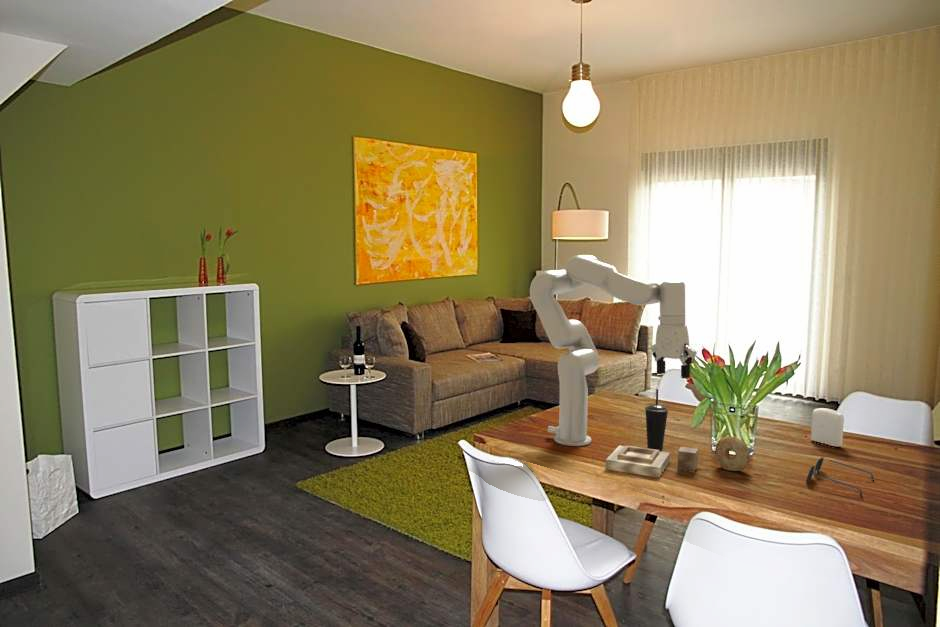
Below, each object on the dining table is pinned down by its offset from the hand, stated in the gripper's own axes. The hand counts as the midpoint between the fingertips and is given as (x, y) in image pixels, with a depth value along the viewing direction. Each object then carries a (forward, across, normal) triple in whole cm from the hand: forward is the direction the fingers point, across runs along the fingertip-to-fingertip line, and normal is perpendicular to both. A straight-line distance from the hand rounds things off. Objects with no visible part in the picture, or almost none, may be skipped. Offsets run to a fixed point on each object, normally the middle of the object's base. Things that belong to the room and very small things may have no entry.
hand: (673, 375), depth 214 cm
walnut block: (+28, +6, -1) cm, 28 cm away
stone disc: (+28, +14, +9) cm, 33 cm away
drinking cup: (+27, -13, +6) cm, 30 cm away
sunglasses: (+30, +37, +27) cm, 55 cm away
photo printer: (+29, +14, +59) cm, 68 cm away
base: (+27, -3, -12) cm, 30 cm away
